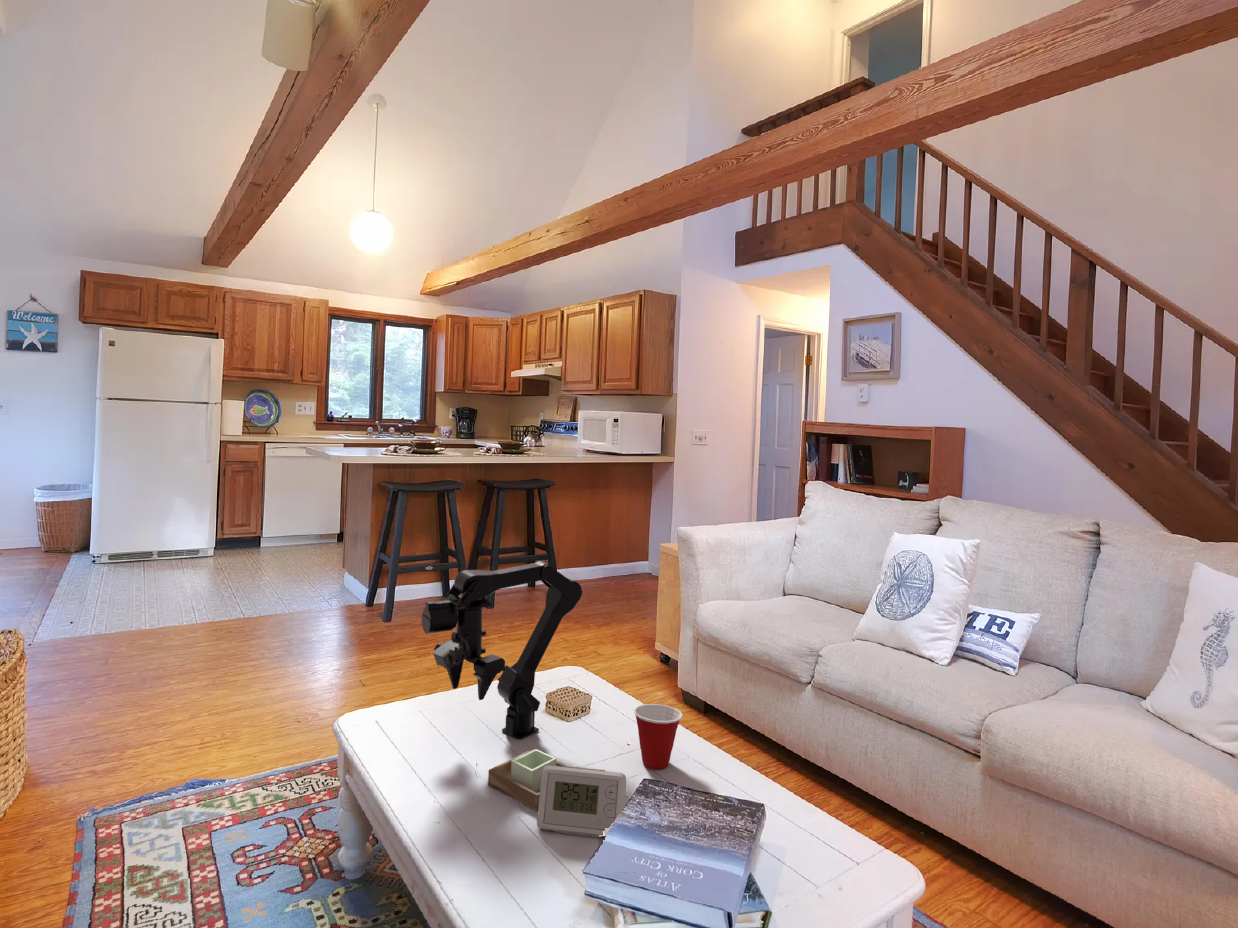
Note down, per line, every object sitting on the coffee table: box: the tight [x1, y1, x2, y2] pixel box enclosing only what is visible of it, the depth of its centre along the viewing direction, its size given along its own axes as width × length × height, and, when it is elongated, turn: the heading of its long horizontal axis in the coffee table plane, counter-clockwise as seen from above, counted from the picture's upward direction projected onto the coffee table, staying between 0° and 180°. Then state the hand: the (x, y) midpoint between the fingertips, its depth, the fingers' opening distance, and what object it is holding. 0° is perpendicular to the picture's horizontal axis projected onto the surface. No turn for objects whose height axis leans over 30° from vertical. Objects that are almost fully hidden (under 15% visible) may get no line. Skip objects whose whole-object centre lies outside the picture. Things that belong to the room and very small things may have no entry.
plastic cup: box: [633, 703, 684, 771], centre depth 155 cm, size 11×11×12 cm
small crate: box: [511, 748, 558, 793], centre depth 143 cm, size 7×6×5 cm
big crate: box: [487, 749, 567, 812], centre depth 143 cm, size 12×14×3 cm
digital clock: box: [536, 765, 627, 838], centre depth 130 cm, size 16×9×11 cm, turn 71°
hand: (467, 693), depth 159 cm, fingers open, 9 cm apart
